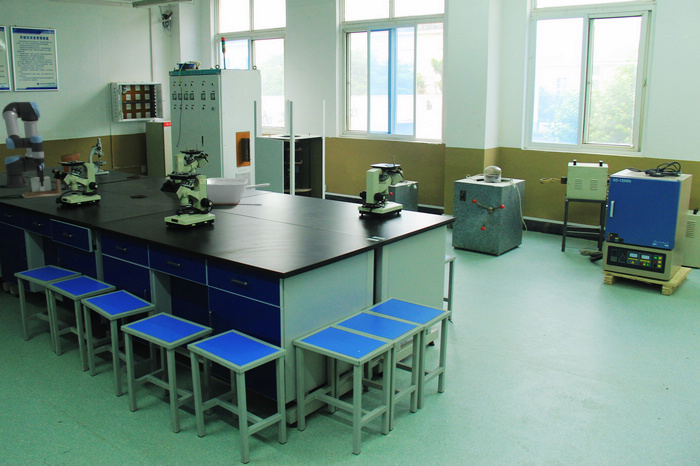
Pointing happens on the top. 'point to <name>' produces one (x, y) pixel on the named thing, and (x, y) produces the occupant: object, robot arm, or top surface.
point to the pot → (227, 189)
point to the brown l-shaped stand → (45, 193)
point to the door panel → (36, 184)
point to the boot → (66, 159)
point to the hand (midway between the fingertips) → (41, 190)
